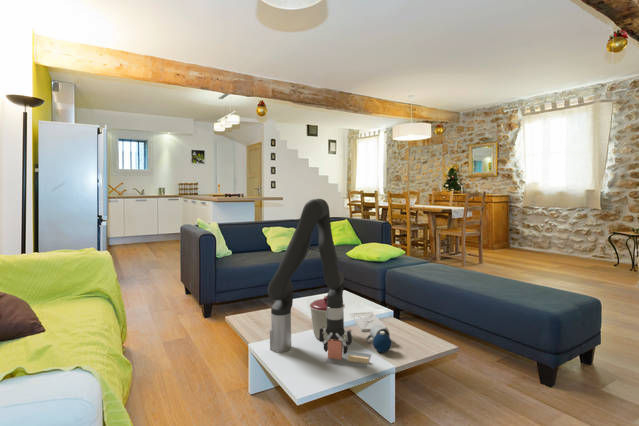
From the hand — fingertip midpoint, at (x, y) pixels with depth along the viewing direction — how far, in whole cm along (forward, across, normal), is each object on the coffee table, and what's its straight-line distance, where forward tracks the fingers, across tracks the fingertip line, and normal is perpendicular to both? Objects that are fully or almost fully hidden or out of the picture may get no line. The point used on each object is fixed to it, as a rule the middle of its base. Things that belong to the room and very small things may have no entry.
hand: (335, 352), depth 162 cm
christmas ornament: (+4, -19, -13) cm, 23 cm away
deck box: (+3, 0, 0) cm, 3 cm away
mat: (+3, -6, -1) cm, 7 cm away
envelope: (+4, -5, -48) cm, 48 cm away
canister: (+3, +10, -22) cm, 25 cm away
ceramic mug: (+4, -15, -24) cm, 28 cm away
